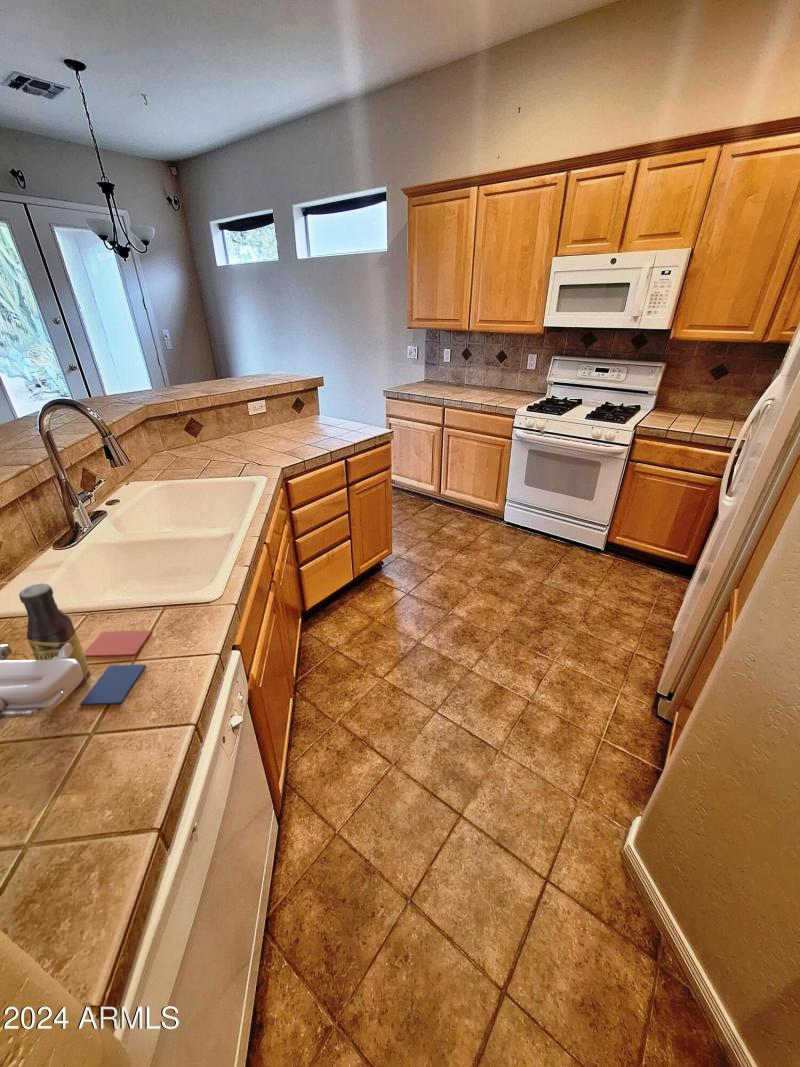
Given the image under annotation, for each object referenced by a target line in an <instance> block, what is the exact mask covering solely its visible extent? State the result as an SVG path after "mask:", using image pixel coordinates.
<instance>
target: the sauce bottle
mask: <svg viewBox="0 0 800 1067" xmlns="http://www.w3.org/2000/svg"><path fill="white" fill-rule="evenodd" d="M18 596H19V601H20V602H21V603H22V604H23V605H24V608H25V610H26V613H27V616H28V617H27V629H26V639H27V642H28V645H29V647H30V649H31V652H32V654H33V656H34V658H35V659H34V660H51V659H52V658H53V657H57V656H56V655H57V654H56V653H55V652H54V649H55V648H56V647H58V645H59V644H67V643H70V644H71V645H72V647H73V652H72V653H71V654H70V655H69V657H68V659H76V660H77V661H78V663H79V665H80V667H81V669H82V672H83V680H82V681H81V682H80V684H79V685H78V686H77V687H76V688H75V689H77V688H80V687H81V686H82V685H84V684H85V683H86V682H87V680H88V679H89V678H90V676H91V670H90V666H89V663H88V661H87V657H85V655H84V652H85V651H84V649H83V647H82V644H81V641H80V638H79V635H78V632H77V630H76V628H75V627H74V624H73V621H72V619H71V617H70V615H69V614H68V613H66V611H63V610H62V609H60V608H58V604H57V603H56V601H55V598H54V591H53V588H52V586H51V585H50V584H48V583H43V582H42V583H41V582H40V583H36V584H32V585H29V586H26V587H25V588H23V589H21V591H19V594H18Z"/></svg>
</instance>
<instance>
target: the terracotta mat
mask: <svg viewBox="0 0 800 1067" xmlns="http://www.w3.org/2000/svg"><path fill="white" fill-rule="evenodd" d="M152 633H153V630H152V629H149V630H148V629H147V630H110V631H109V630H108V631H107V630H106V631H104V630H103V631H101V632H100V633H99V634H98V636H97V637H96V638H95V639H94V640H93V642H91V644H90V645H89V646H88V647H87V649H86V650H85V651H83V652H84V655H85V658H98V657H99V658H100V657H103V658H104V657H105V658H106V657H136V656H137V654H138V653H139V652H140V650H141V649H142V647H143V646H144V644H145V643H146V641H147V640H148V639H149V638H150V635H151V634H152Z"/></svg>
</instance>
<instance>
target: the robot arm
mask: <svg viewBox="0 0 800 1067" xmlns="http://www.w3.org/2000/svg"><path fill="white" fill-rule="evenodd" d="M12 652H13V650H12V648H11V645H10V644H0V732H2V730H3V729H4V728H5V727H6V726H7V725H8V723H9V722H10V719H16V718H36V717H38V716H39V715H41V714H43V713H46V712H50V711H52V710H53V709H54V708H56V707H57V706H59V705H60V704H61V703H62V702H63V701H64V700H66V699H67V697H68V696H70V694H71V693H73V691H75V689H77V688H78V687H77V686H78V685H79V684H80V682H81V681H82V680H83V672H82V669H81V667H80V665H79V663H78V661H77V660H76V659H68V657H69V655H70V654H71V653H72V652H73V647H72V645H71V644H70V643H67V644H59V645H58V647H56V648H55V649H54V652H55V653H56V654H57V655H56V656H57V657H53V658H52V659H51V660H36V659H20V660H19V659H18V660H6V659H7V658H8V657H9V656H10V655H11V654H12ZM76 687H77V688H76Z"/></svg>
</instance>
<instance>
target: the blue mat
mask: <svg viewBox="0 0 800 1067" xmlns="http://www.w3.org/2000/svg"><path fill="white" fill-rule="evenodd" d="M146 667H147V664H116V665H115V664H114V665H108V667H107V668H106V669H105V671H104V672H103V673H102V675H100V677H98V679H97V681H96V682H95V684H94V685H93V686H92V687H91V689H90V690H89V692H87V694H86V696H85V697H83V699H82V701H81V702H80V706H104V705H122V704H123V702H124V701H125V699H126V697H127V696H128V695H129V693H130V692H131V690H132V688H133V687H134V685H135V684H136V682H137V681H138V680H139V678H140V676H141V675H142V673H143V672H144V670H145V668H146Z"/></svg>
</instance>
